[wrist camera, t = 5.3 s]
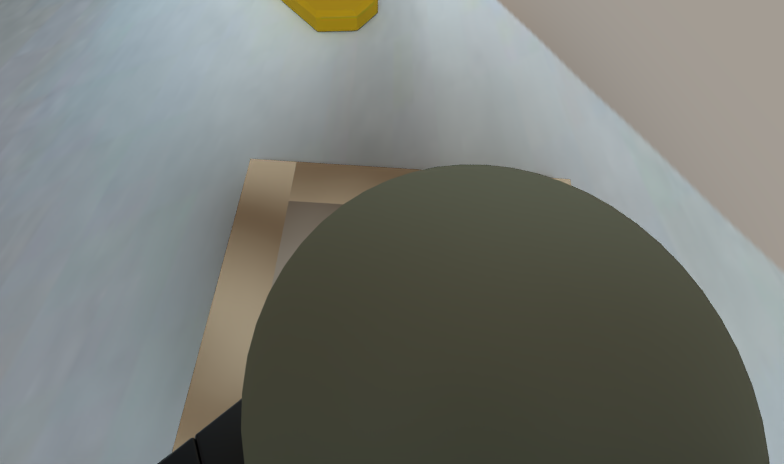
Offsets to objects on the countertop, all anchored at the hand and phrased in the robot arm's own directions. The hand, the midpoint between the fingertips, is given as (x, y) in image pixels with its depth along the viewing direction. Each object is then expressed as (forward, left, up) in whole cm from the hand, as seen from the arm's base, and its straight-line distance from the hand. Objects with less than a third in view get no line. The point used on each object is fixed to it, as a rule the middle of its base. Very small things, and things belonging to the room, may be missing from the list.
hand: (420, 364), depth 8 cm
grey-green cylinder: (-1, -1, -5) cm, 5 cm away
